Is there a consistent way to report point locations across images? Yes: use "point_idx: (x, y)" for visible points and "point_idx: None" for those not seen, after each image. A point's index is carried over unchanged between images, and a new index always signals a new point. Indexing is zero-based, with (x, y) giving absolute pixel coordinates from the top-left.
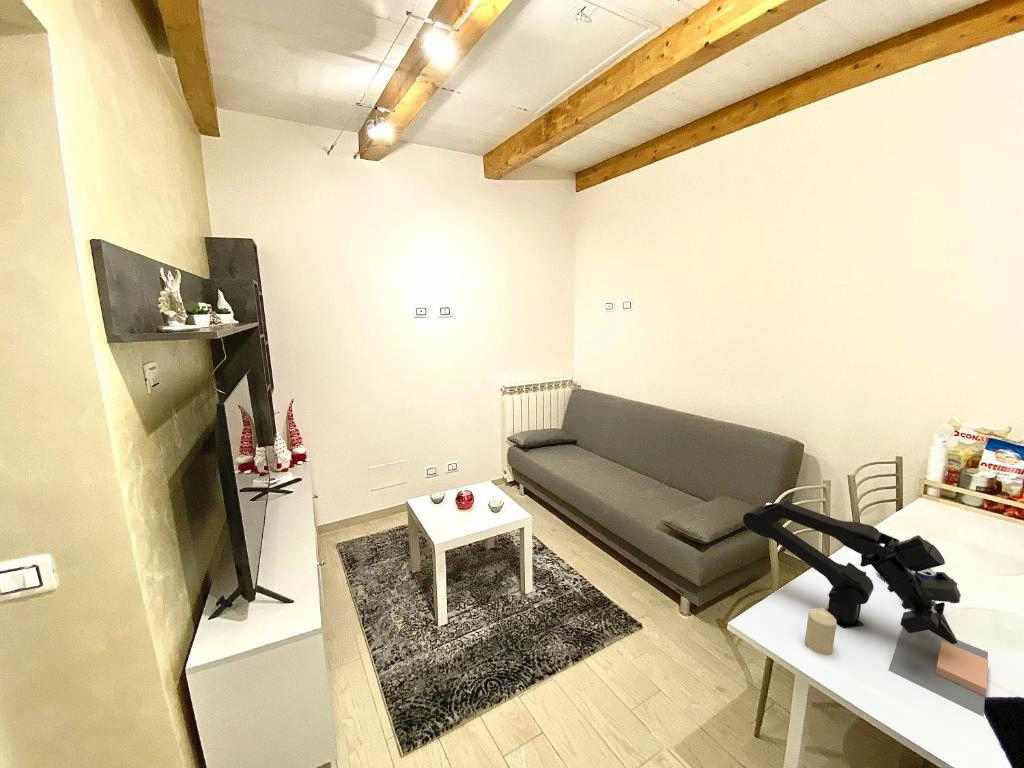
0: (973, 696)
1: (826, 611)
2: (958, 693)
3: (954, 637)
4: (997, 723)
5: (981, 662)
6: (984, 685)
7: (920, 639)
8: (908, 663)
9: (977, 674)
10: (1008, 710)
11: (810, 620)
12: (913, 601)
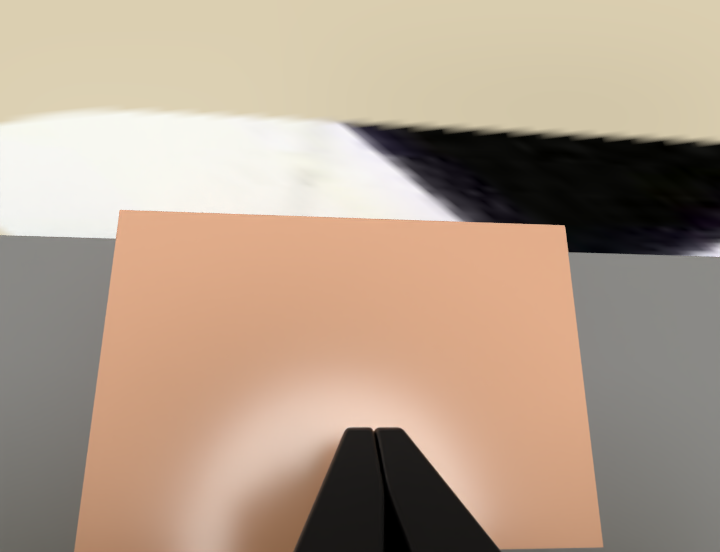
0: (595, 305)
1: None
2: (648, 381)
3: (375, 468)
4: (700, 204)
5: (209, 252)
6: (531, 236)
7: None
8: None
9: (423, 275)
10: (521, 157)
11: None
12: None
